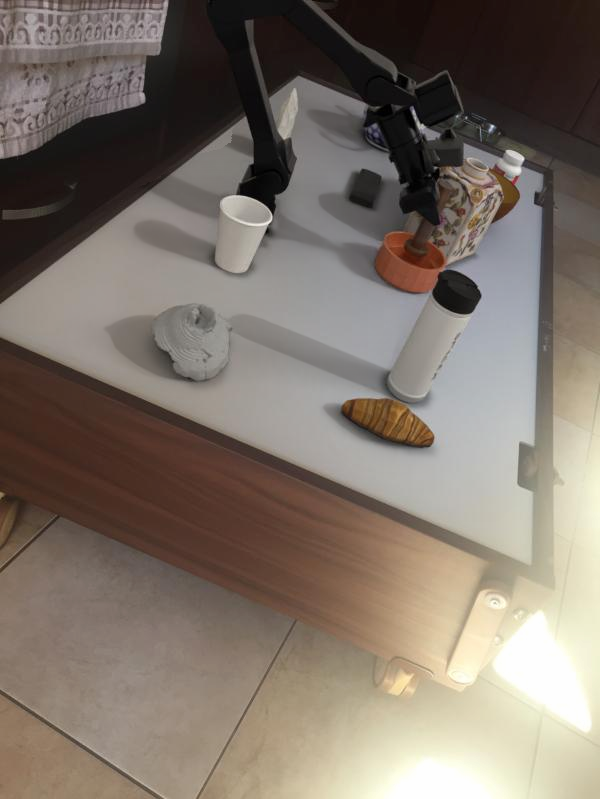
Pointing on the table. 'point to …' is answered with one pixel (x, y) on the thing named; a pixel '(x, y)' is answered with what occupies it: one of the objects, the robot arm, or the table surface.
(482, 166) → the decorative jar
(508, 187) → the bowl
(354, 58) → the robot arm
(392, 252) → the orange round container
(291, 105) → the stone tool
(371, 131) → the teapot
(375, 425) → the croissant
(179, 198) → the table surface
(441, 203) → the brown flanged peg
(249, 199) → the dixie cup
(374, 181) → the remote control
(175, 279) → the table surface
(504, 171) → the pill bottle
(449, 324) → the travel mug
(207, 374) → the grey clay mound
